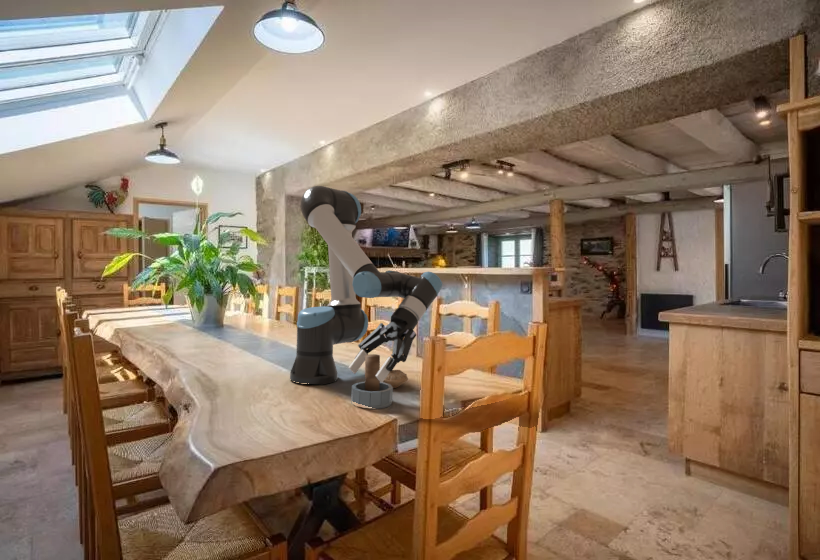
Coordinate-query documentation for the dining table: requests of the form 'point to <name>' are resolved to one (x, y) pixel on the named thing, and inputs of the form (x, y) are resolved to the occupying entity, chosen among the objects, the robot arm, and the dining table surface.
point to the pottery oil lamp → (396, 378)
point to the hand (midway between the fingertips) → (364, 374)
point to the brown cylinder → (372, 372)
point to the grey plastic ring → (372, 395)
